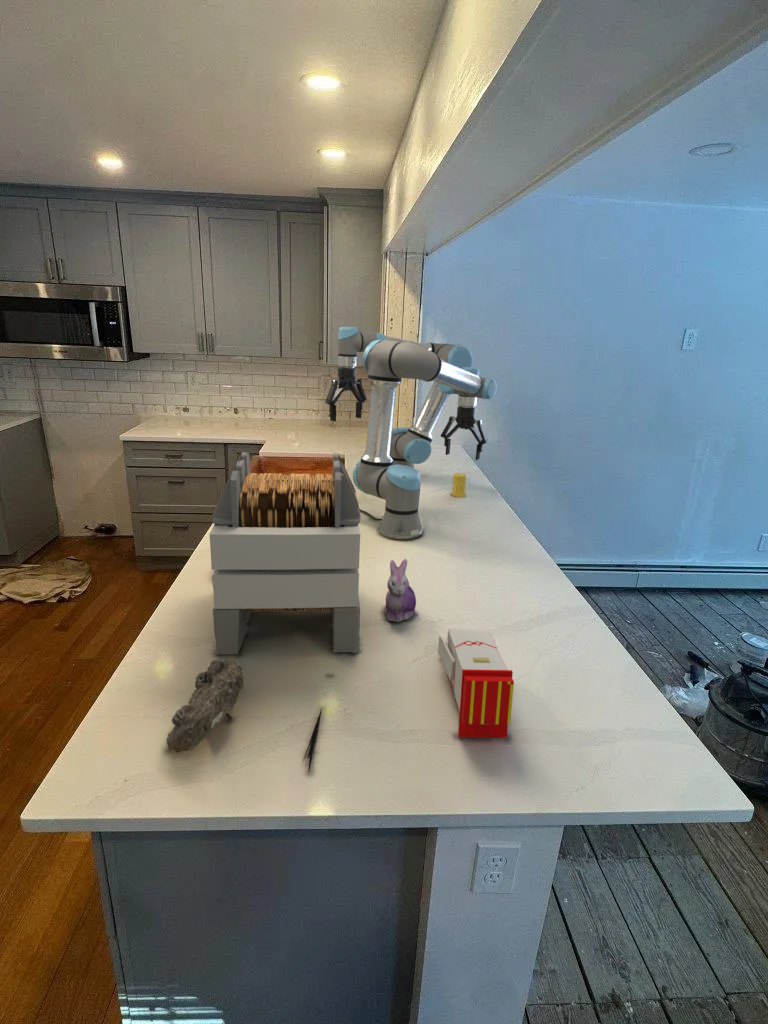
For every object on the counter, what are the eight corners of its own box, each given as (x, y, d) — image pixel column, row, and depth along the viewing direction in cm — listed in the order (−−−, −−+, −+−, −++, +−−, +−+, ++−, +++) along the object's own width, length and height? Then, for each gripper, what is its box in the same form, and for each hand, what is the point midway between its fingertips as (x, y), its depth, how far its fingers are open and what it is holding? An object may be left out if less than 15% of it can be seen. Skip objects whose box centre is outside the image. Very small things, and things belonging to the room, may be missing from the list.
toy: (488, 613, 130) (523, 677, 101) (484, 667, 133) (517, 744, 104) (435, 612, 130) (455, 676, 101) (432, 666, 133) (451, 743, 103)
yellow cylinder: (461, 497, 242) (463, 477, 238) (449, 495, 244) (451, 474, 241) (466, 494, 246) (468, 474, 243) (455, 492, 249) (457, 472, 245)
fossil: (192, 660, 117) (244, 628, 112) (224, 691, 120) (276, 661, 115) (142, 746, 98) (202, 712, 93) (182, 779, 101) (242, 748, 96)
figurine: (392, 627, 141) (395, 572, 136) (374, 608, 149) (376, 556, 144) (425, 619, 145) (429, 566, 140) (405, 601, 154) (408, 550, 149)
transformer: (234, 586, 158) (226, 442, 144) (351, 584, 161) (355, 445, 148) (213, 657, 126) (200, 481, 112) (359, 653, 130) (365, 483, 116)
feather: (331, 679, 122) (336, 673, 122) (307, 777, 96) (313, 769, 95) (324, 675, 122) (329, 669, 121) (298, 772, 95) (304, 764, 95)
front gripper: (499, 408, 229) (493, 459, 236) (442, 401, 240) (439, 450, 248) (492, 411, 223) (487, 463, 230) (435, 403, 234) (431, 453, 242)
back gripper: (328, 369, 218) (328, 423, 225) (376, 366, 234) (374, 417, 242) (316, 367, 223) (316, 420, 230) (364, 365, 239) (362, 415, 247)
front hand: (462, 456), depth 239 cm, fingers open, 13 cm apart
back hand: (346, 419), depth 236 cm, fingers open, 13 cm apart
